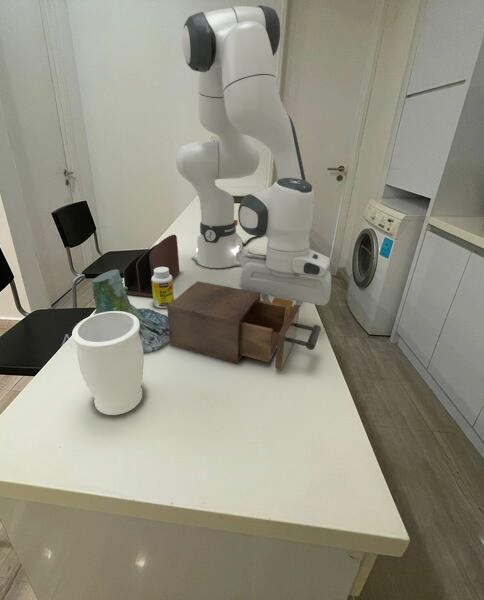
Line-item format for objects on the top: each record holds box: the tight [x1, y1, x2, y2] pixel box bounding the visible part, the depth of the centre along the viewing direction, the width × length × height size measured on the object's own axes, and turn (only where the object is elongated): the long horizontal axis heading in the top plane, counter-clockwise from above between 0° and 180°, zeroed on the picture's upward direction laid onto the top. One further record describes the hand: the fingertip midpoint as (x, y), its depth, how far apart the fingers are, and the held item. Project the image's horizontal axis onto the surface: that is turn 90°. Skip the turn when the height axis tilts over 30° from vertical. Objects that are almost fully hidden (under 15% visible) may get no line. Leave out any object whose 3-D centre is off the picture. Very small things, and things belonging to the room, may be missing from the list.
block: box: [271, 297, 294, 321], centre depth 78 cm, size 4×4×4 cm
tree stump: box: [91, 268, 170, 354], centre depth 75 cm, size 18×20×18 cm
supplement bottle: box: [151, 267, 175, 309], centre depth 88 cm, size 6×6×10 cm
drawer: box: [239, 300, 322, 371], centre depth 68 cm, size 20×13×8 cm, turn 62°
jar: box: [71, 311, 145, 416], centre depth 55 cm, size 11×10×15 cm
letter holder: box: [122, 234, 181, 298], centre depth 100 cm, size 10×20×14 cm, turn 162°
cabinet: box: [166, 280, 262, 364], centre depth 73 cm, size 16×14×10 cm
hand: (280, 312), depth 79 cm, fingers closed on block, 4 cm apart
